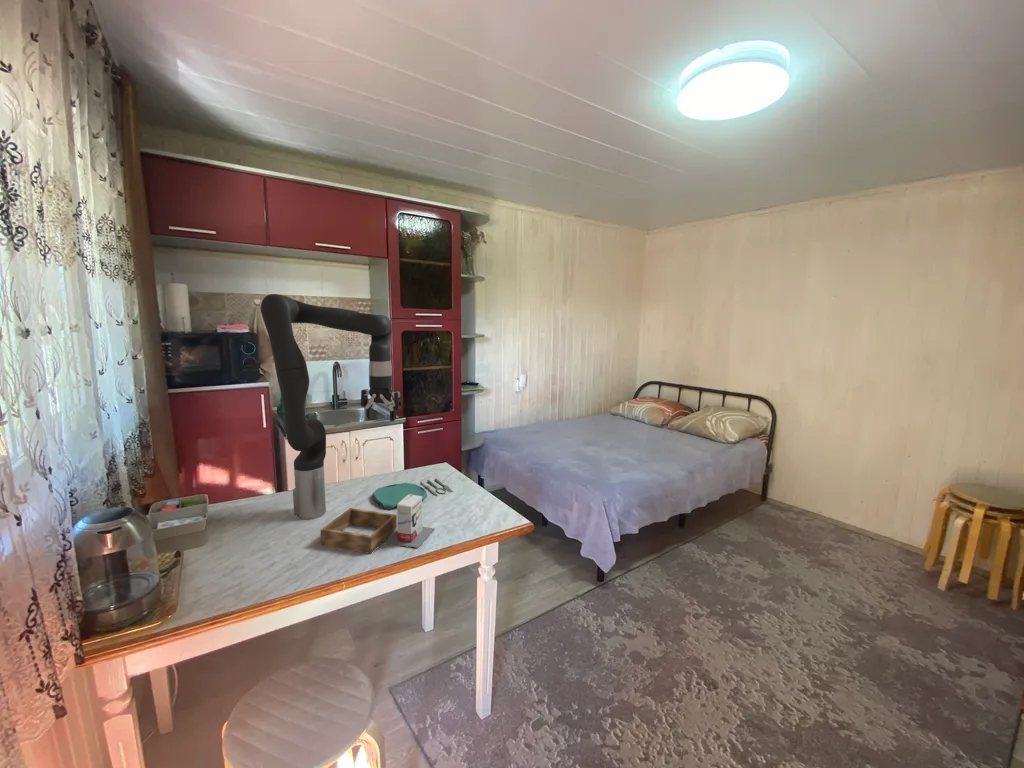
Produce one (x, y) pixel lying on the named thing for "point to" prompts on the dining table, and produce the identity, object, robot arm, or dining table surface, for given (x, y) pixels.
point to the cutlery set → (403, 493)
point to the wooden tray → (353, 541)
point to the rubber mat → (416, 542)
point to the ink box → (409, 518)
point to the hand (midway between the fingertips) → (381, 420)
